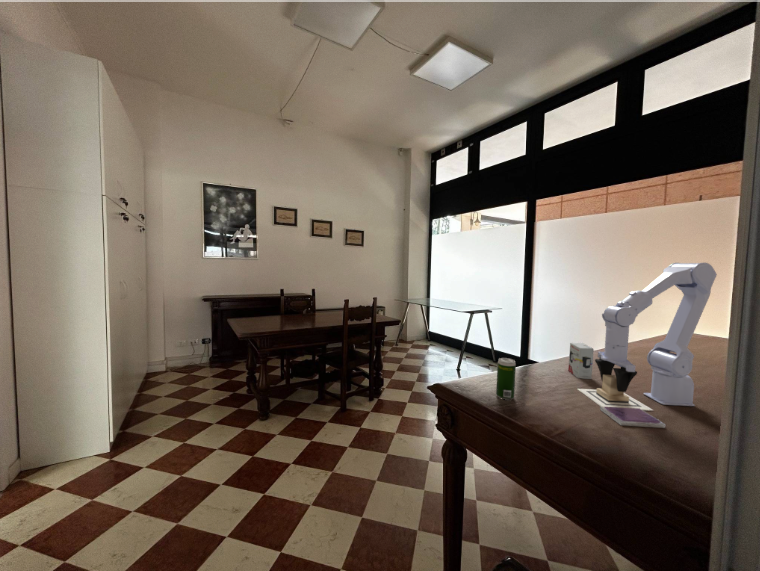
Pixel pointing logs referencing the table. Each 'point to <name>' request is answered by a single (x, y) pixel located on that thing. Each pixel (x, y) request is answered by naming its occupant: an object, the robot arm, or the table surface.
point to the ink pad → (632, 417)
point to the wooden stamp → (611, 390)
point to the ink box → (581, 360)
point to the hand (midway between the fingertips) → (613, 386)
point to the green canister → (506, 378)
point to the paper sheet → (601, 402)
